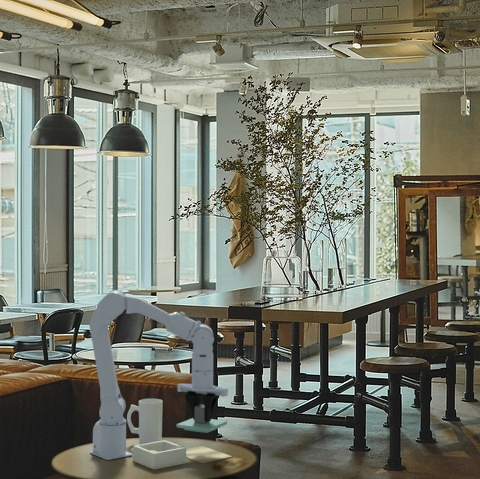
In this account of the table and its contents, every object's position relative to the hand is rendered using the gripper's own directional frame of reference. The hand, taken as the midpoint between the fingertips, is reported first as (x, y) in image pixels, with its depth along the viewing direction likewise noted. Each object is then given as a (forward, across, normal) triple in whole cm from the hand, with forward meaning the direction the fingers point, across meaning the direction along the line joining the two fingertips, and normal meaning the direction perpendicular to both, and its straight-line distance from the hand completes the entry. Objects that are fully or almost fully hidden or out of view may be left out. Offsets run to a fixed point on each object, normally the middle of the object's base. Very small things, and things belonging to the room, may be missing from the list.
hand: (202, 420), depth 245 cm
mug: (+10, -20, +3) cm, 23 cm away
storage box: (+9, -6, -11) cm, 16 cm away
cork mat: (+9, 0, 0) cm, 9 cm away
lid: (+2, 0, 0) cm, 2 cm away
